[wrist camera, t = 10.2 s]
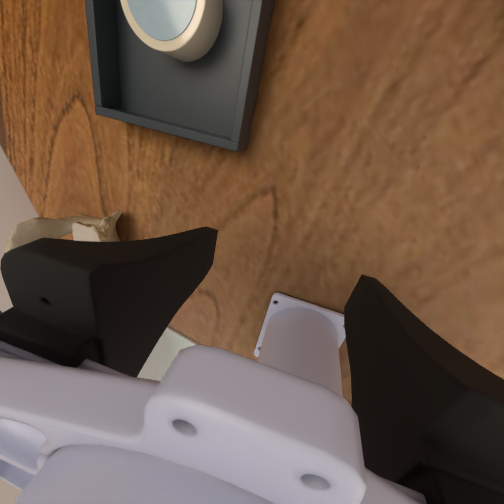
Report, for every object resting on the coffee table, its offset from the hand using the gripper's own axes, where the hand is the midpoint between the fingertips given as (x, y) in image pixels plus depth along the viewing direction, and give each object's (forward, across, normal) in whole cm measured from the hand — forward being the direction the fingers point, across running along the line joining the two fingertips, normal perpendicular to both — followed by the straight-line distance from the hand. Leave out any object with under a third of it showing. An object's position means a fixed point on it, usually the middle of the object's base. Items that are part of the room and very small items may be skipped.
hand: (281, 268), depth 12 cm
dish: (+9, +11, -11) cm, 18 cm away
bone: (+10, +18, +7) cm, 21 cm away
